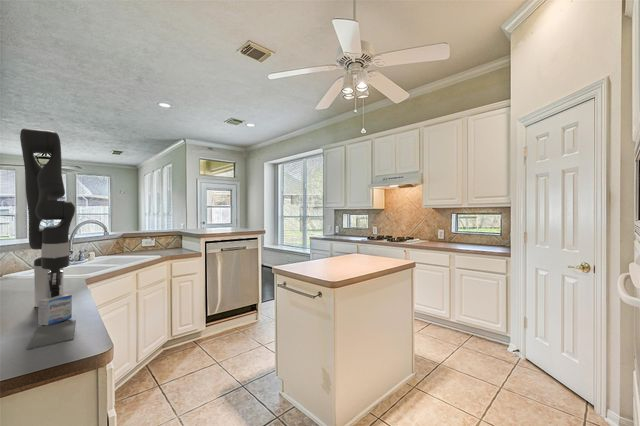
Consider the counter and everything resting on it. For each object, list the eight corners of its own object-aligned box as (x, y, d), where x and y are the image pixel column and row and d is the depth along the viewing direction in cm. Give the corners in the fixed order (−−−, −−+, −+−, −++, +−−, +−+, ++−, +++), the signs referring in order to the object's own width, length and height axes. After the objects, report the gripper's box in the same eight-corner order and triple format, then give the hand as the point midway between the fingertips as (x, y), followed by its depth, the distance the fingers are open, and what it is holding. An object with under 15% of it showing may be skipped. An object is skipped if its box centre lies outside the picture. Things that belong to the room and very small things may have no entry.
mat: (36, 328, 96) (36, 327, 96) (75, 321, 102) (75, 320, 102) (26, 349, 80) (26, 348, 80) (73, 339, 87) (73, 338, 87)
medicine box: (47, 326, 97) (48, 301, 97) (37, 325, 98) (37, 300, 98) (72, 317, 104) (72, 294, 104) (62, 316, 105) (62, 293, 105)
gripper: (43, 252, 107) (43, 297, 107) (38, 259, 96) (38, 308, 97) (70, 250, 111) (69, 293, 112) (68, 257, 101) (67, 304, 102)
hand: (55, 300), depth 105 cm, fingers closed
